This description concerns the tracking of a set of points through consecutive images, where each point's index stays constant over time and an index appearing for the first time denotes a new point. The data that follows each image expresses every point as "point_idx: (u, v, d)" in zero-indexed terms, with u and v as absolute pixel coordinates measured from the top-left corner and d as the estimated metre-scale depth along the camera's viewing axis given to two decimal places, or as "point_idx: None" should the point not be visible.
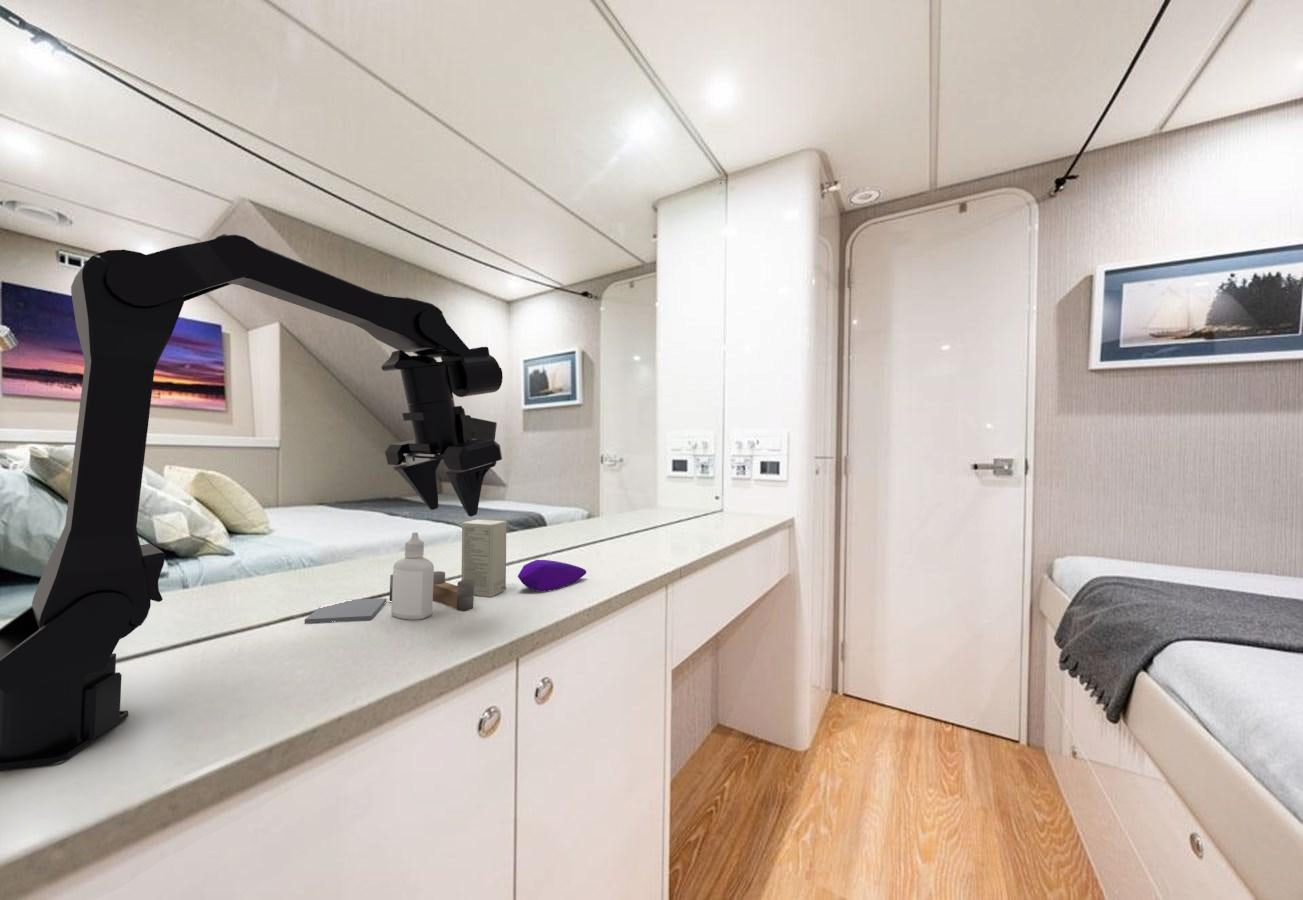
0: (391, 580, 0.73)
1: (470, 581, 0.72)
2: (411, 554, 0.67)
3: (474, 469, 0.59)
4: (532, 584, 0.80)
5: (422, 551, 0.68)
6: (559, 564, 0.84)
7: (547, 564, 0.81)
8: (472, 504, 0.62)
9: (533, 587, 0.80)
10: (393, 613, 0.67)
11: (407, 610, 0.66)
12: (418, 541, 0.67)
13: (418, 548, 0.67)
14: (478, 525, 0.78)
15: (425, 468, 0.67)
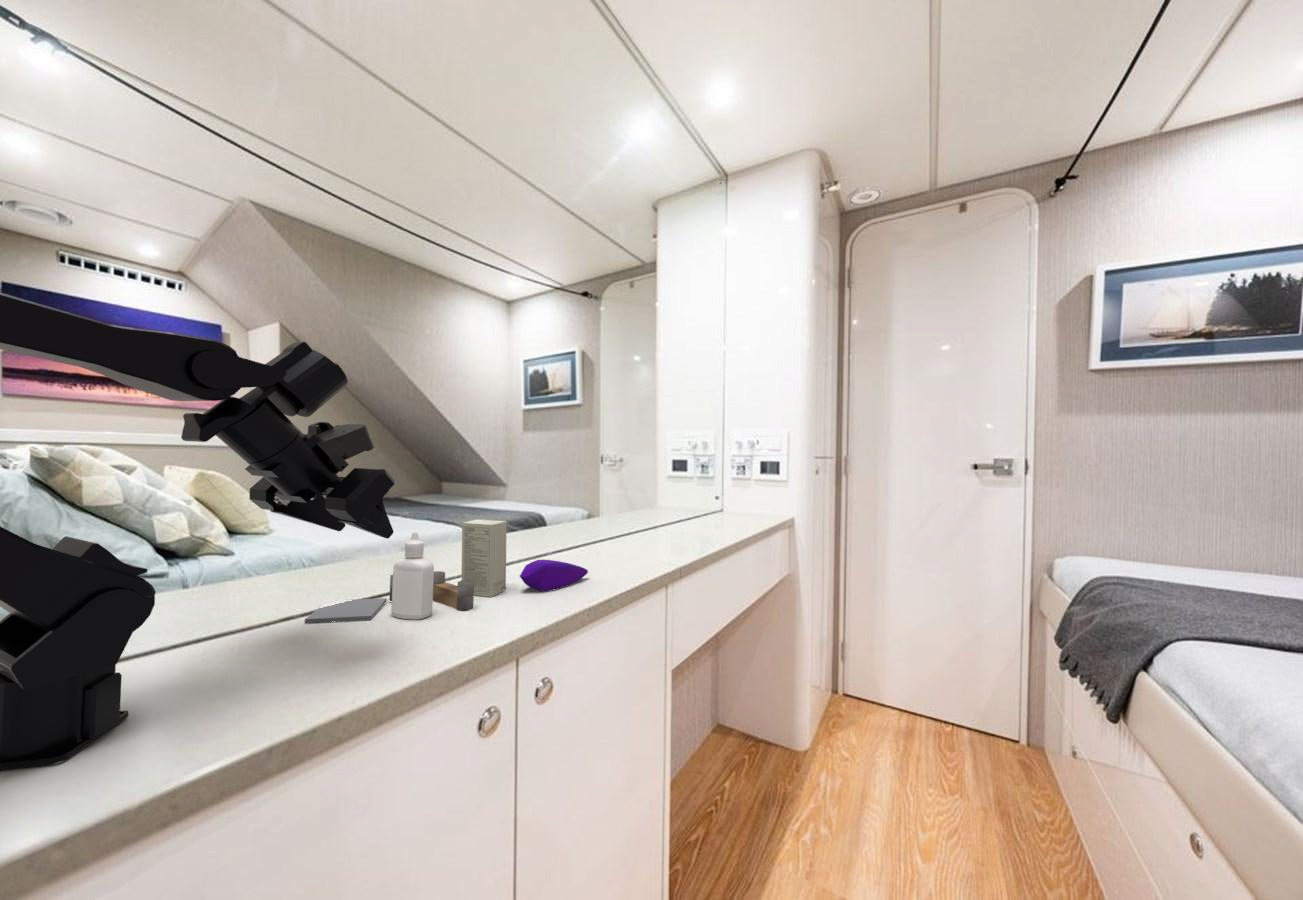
0: (391, 580, 0.73)
1: (470, 581, 0.72)
2: (411, 554, 0.67)
3: None
4: (534, 583, 0.80)
5: (422, 551, 0.68)
6: (561, 564, 0.84)
7: (549, 564, 0.82)
8: (384, 529, 0.57)
9: (535, 587, 0.80)
10: (393, 613, 0.67)
11: (407, 610, 0.66)
12: (418, 541, 0.67)
13: (418, 548, 0.67)
14: (478, 525, 0.78)
15: None
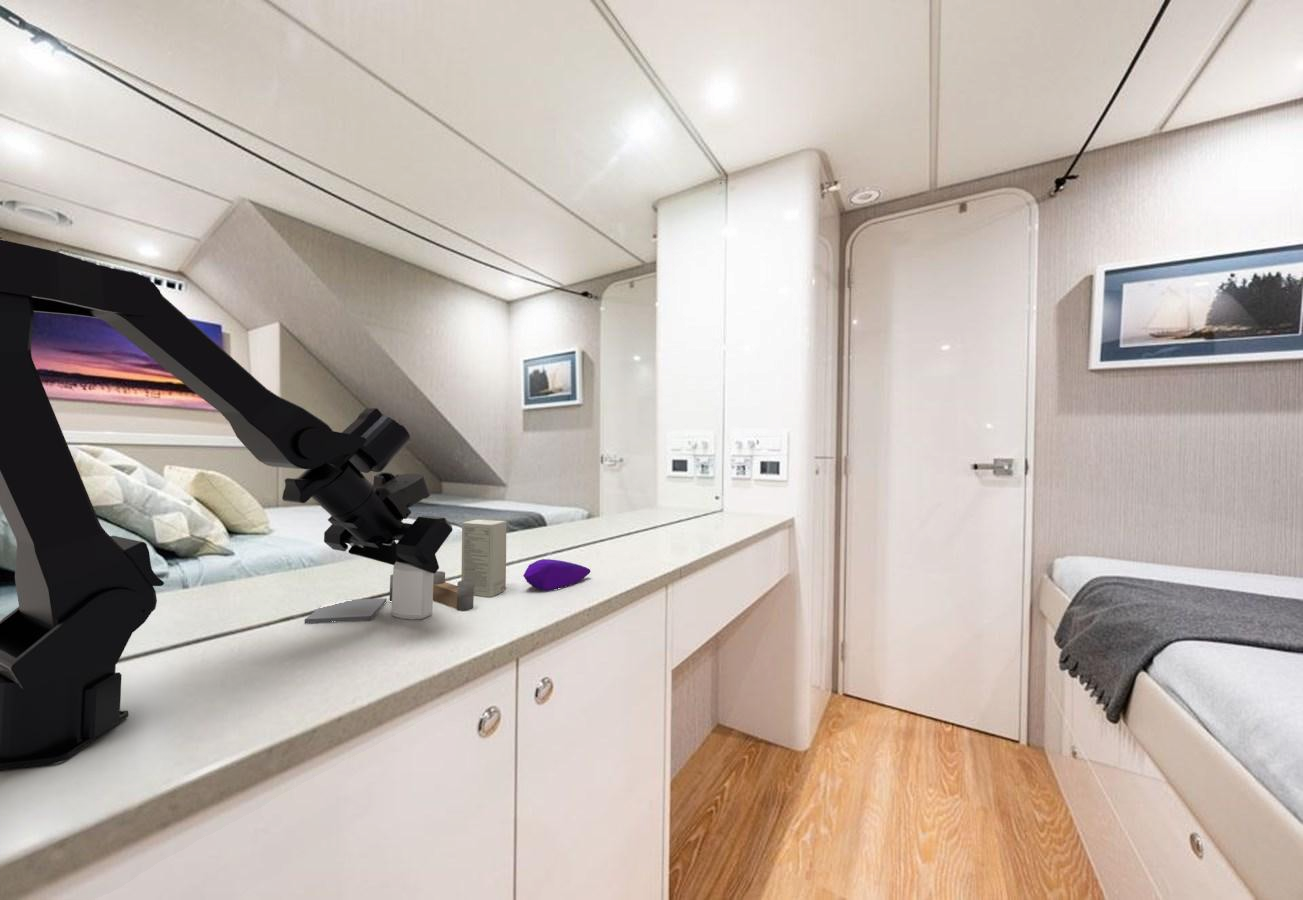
0: (391, 580, 0.73)
1: (470, 581, 0.72)
2: None
3: None
4: (538, 583, 0.80)
5: None
6: (564, 563, 0.84)
7: (552, 563, 0.82)
8: (432, 565, 0.66)
9: (538, 586, 0.81)
10: (393, 613, 0.67)
11: (407, 610, 0.66)
12: None
13: None
14: (478, 525, 0.78)
15: None
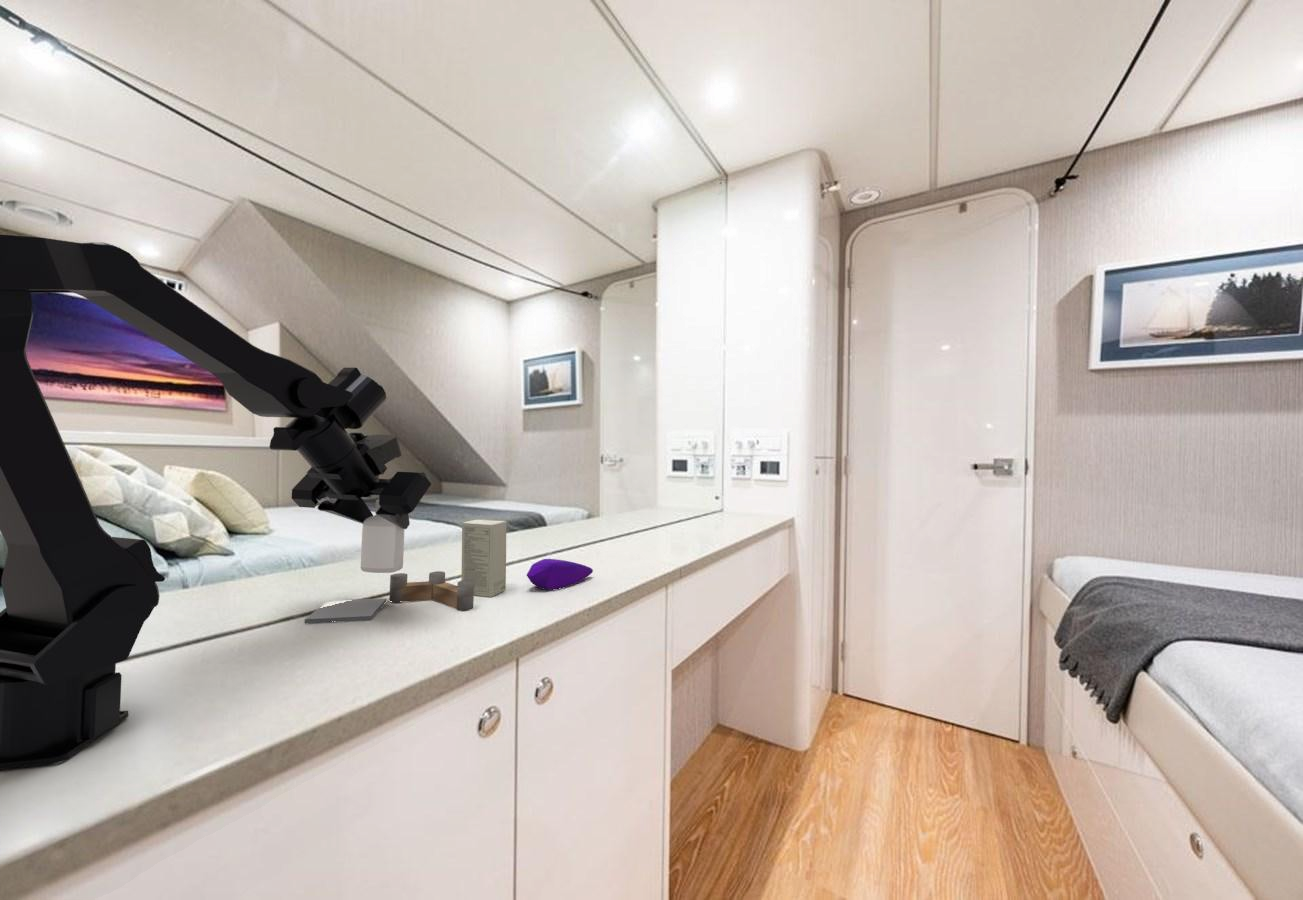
0: (391, 580, 0.73)
1: (470, 581, 0.72)
2: None
3: None
4: (541, 582, 0.81)
5: None
6: (567, 563, 0.85)
7: (555, 563, 0.83)
8: (405, 521, 0.70)
9: (542, 586, 0.81)
10: (363, 568, 0.69)
11: (379, 563, 0.69)
12: None
13: None
14: (478, 525, 0.78)
15: None
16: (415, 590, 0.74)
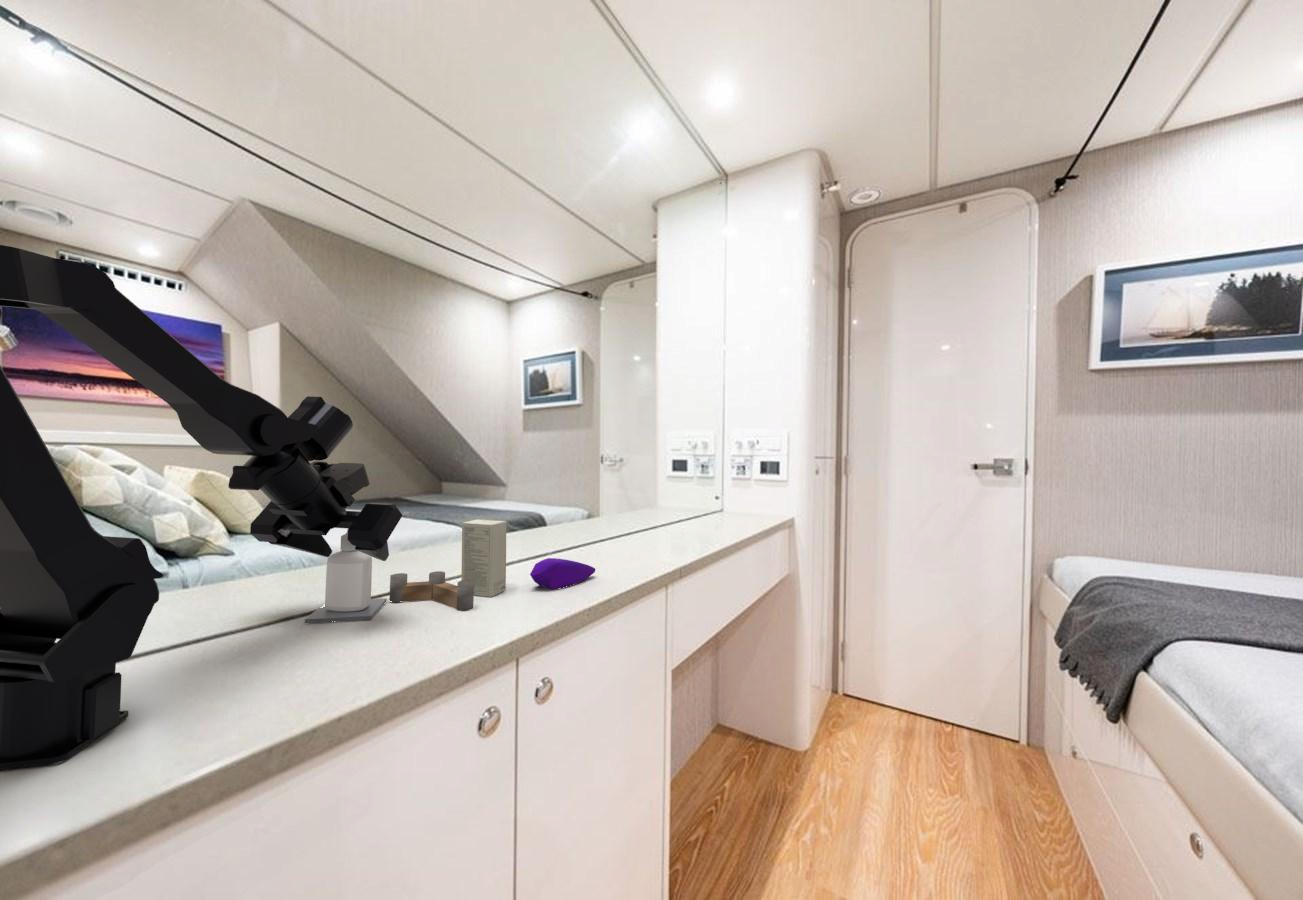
0: (391, 580, 0.73)
1: (470, 581, 0.72)
2: (349, 547, 0.67)
3: None
4: (544, 582, 0.81)
5: None
6: (570, 562, 0.85)
7: (558, 562, 0.83)
8: (384, 553, 0.68)
9: (545, 585, 0.82)
10: (328, 607, 0.66)
11: (345, 602, 0.66)
12: None
13: None
14: (478, 525, 0.78)
15: None
16: (415, 590, 0.74)
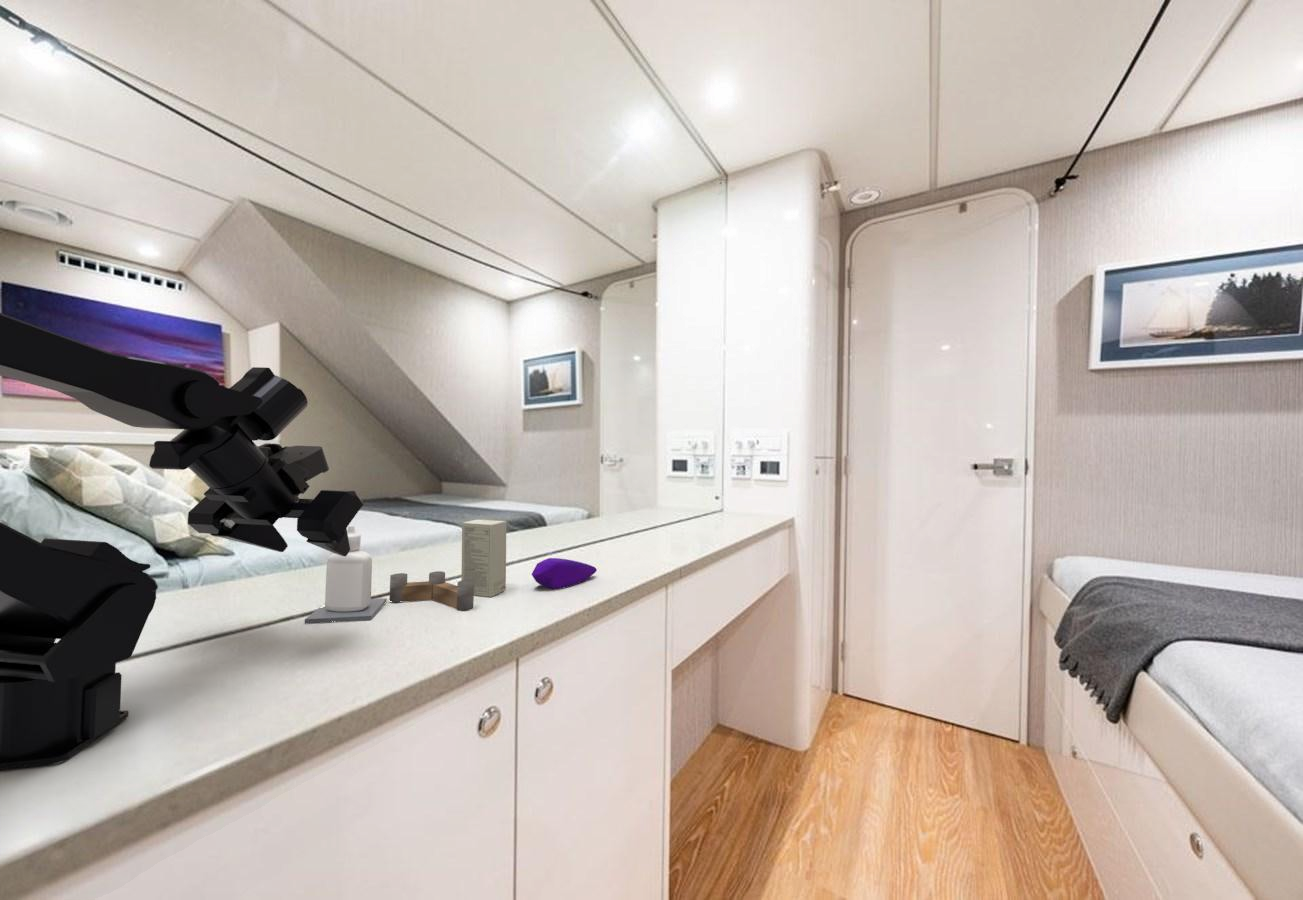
0: (391, 580, 0.73)
1: (470, 581, 0.72)
2: None
3: None
4: (546, 581, 0.82)
5: (359, 544, 0.68)
6: (571, 562, 0.86)
7: (560, 562, 0.83)
8: (344, 547, 0.60)
9: (547, 585, 0.82)
10: (328, 607, 0.66)
11: (345, 602, 0.66)
12: (355, 534, 0.68)
13: (356, 541, 0.68)
14: (478, 525, 0.78)
15: None
16: (415, 590, 0.74)
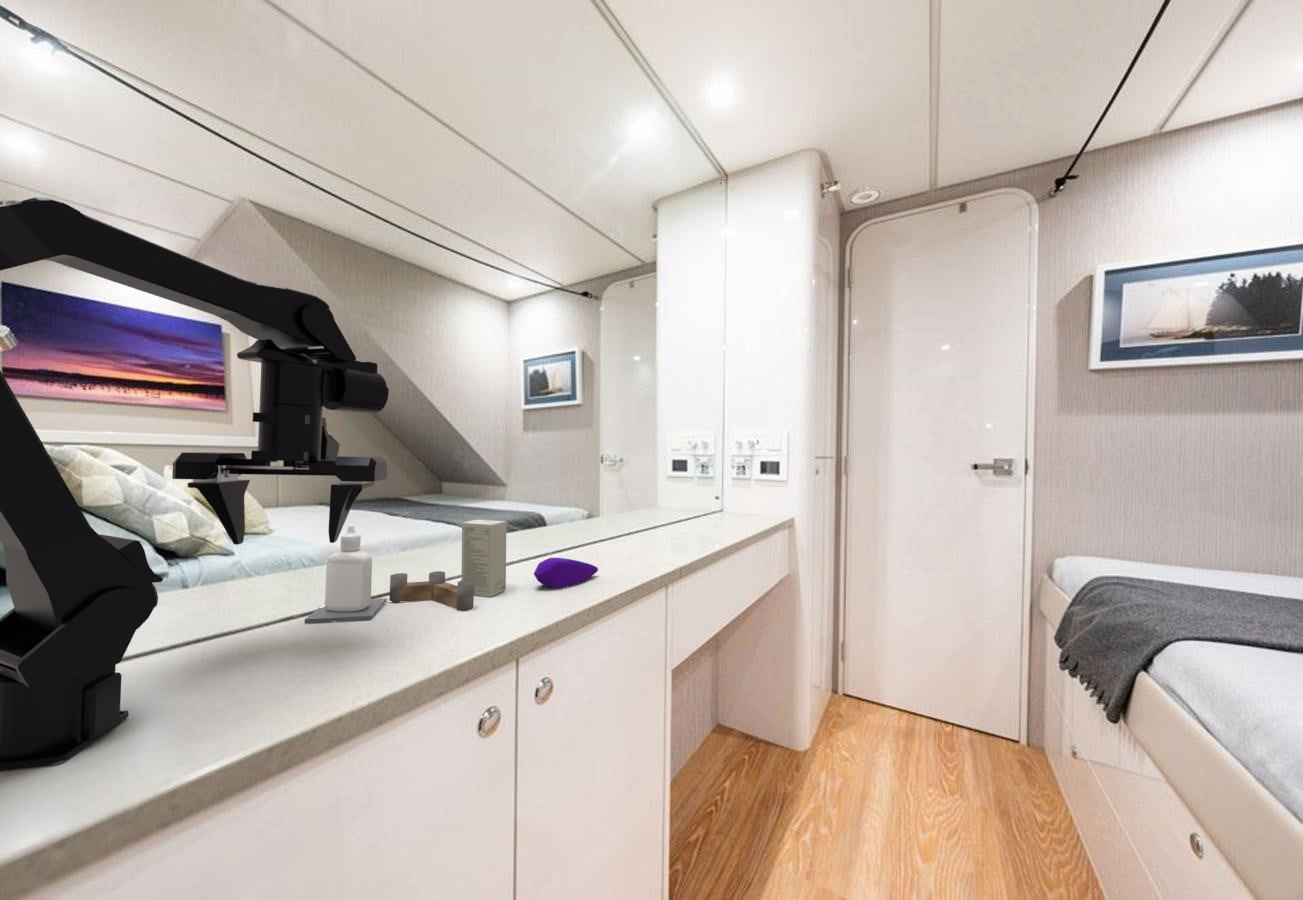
0: (391, 580, 0.73)
1: (470, 581, 0.72)
2: (349, 547, 0.67)
3: (366, 484, 0.55)
4: (548, 581, 0.82)
5: (359, 544, 0.68)
6: (573, 562, 0.86)
7: (562, 562, 0.84)
8: (339, 527, 0.54)
9: (549, 584, 0.82)
10: (328, 607, 0.66)
11: (345, 602, 0.66)
12: (355, 534, 0.68)
13: (356, 541, 0.68)
14: (478, 525, 0.78)
15: (236, 489, 0.52)
16: (415, 590, 0.74)
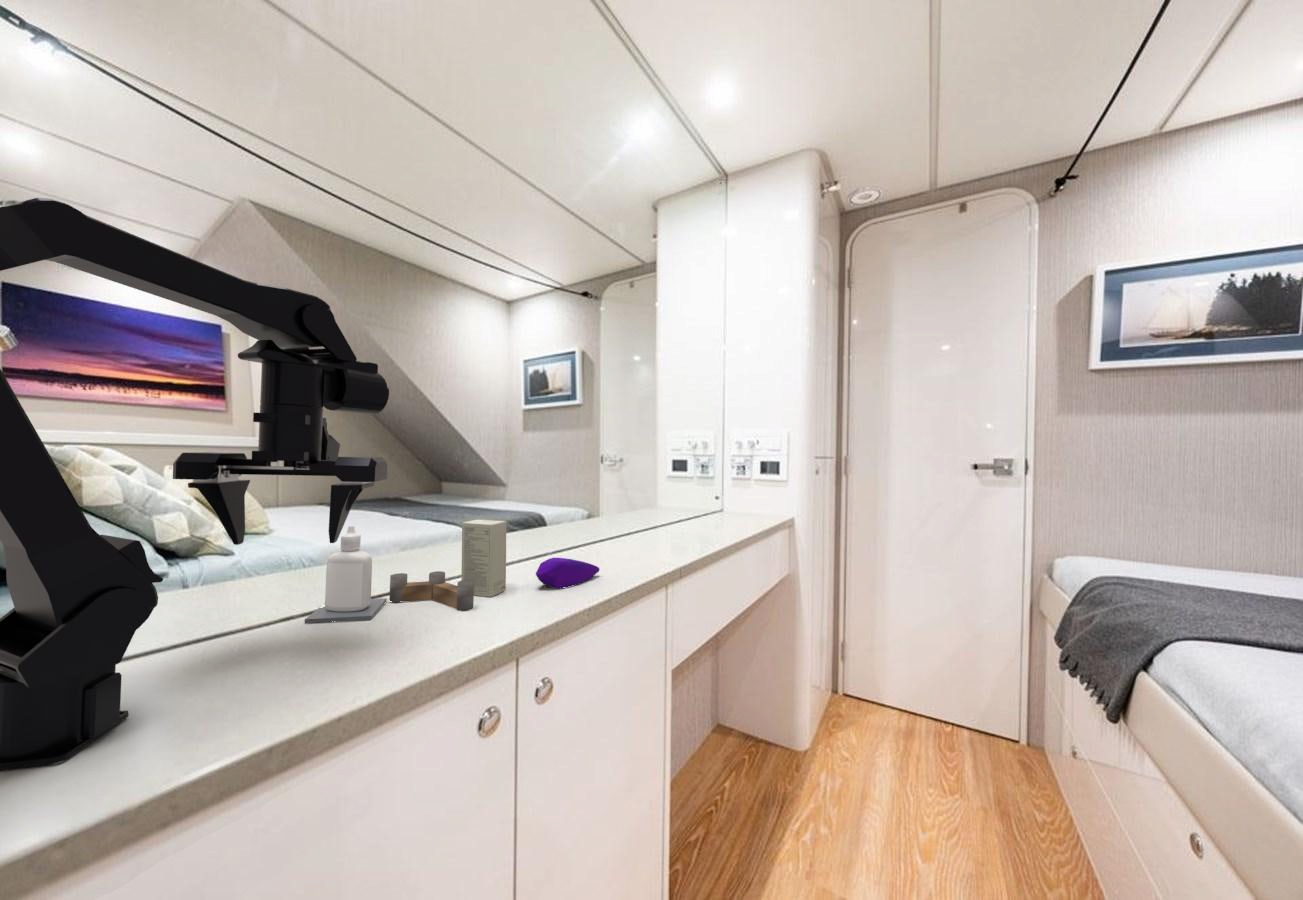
0: (391, 580, 0.73)
1: (470, 581, 0.72)
2: (349, 547, 0.67)
3: (366, 484, 0.55)
4: (550, 581, 0.82)
5: (359, 544, 0.68)
6: (575, 562, 0.86)
7: (564, 562, 0.84)
8: (340, 528, 0.54)
9: (550, 584, 0.82)
10: (328, 607, 0.66)
11: (345, 602, 0.66)
12: (355, 534, 0.68)
13: (356, 541, 0.68)
14: (478, 525, 0.78)
15: (237, 489, 0.52)
16: (415, 590, 0.74)
